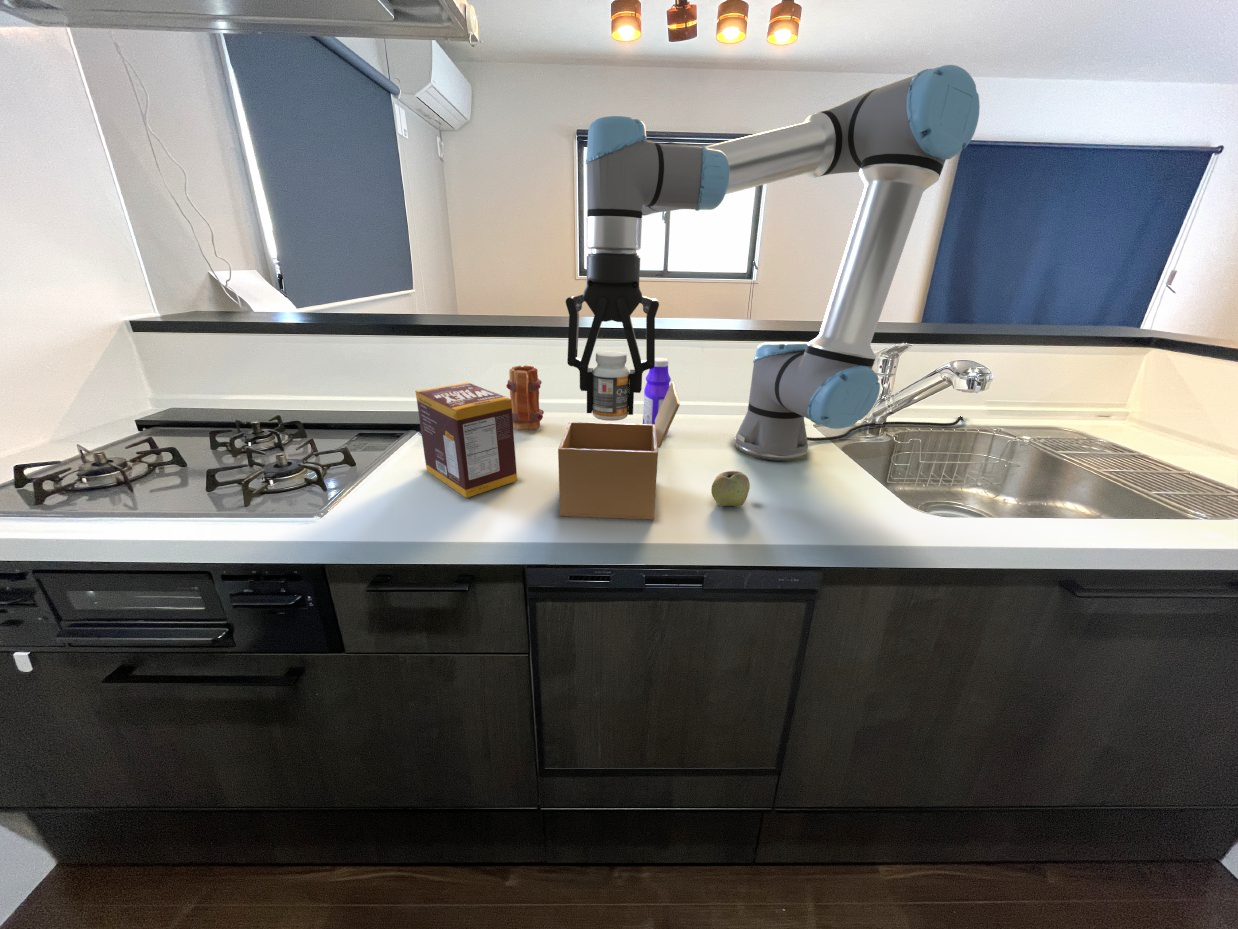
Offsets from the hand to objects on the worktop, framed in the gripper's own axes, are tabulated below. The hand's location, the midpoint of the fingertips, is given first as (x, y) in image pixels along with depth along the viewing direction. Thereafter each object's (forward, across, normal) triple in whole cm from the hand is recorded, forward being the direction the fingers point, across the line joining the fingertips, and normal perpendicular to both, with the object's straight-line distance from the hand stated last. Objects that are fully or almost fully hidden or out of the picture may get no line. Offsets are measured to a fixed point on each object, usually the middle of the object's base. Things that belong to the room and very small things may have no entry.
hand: (610, 411), depth 78 cm
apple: (+16, -21, 0) cm, 26 cm away
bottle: (+16, -9, -34) cm, 39 cm away
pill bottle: (+1, 0, 0) cm, 1 cm away
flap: (0, -9, 0) cm, 9 cm away
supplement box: (+16, +26, -7) cm, 31 cm away
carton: (+16, 0, 0) cm, 16 cm away
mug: (+16, +21, -32) cm, 41 cm away
